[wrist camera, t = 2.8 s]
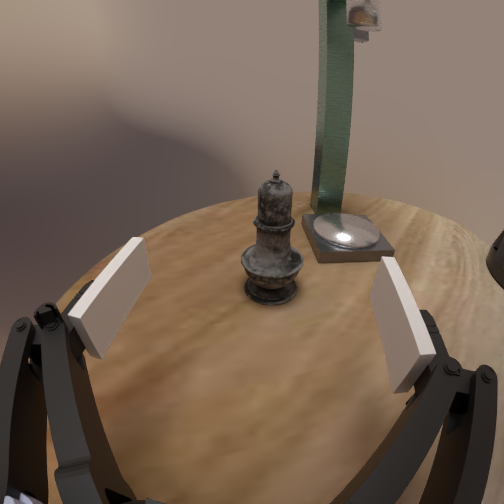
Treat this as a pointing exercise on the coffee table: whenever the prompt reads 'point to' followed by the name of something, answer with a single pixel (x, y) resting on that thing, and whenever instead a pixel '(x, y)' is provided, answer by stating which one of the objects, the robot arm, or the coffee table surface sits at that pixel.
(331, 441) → the coffee table surface
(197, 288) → the coffee table surface
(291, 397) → the coffee table surface
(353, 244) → the arbor press
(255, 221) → the dark chess piece
